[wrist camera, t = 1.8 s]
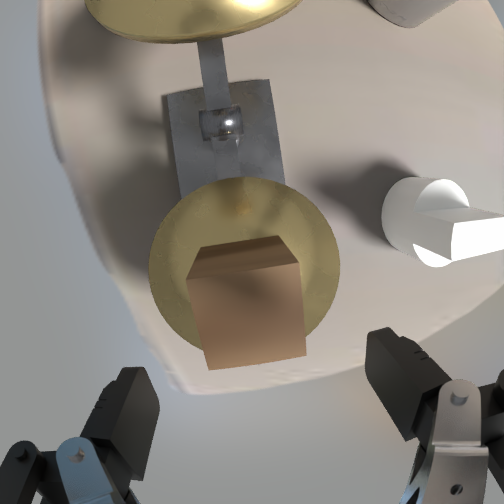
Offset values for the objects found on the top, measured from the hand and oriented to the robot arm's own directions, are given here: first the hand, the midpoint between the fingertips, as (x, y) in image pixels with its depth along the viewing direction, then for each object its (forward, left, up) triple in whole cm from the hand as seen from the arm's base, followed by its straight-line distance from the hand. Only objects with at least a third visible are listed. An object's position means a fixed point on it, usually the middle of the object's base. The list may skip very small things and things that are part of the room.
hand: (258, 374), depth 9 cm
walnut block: (0, 0, -10) cm, 10 cm away
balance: (-8, -6, -20) cm, 23 cm away
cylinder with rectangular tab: (-12, +16, -21) cm, 29 cm away
